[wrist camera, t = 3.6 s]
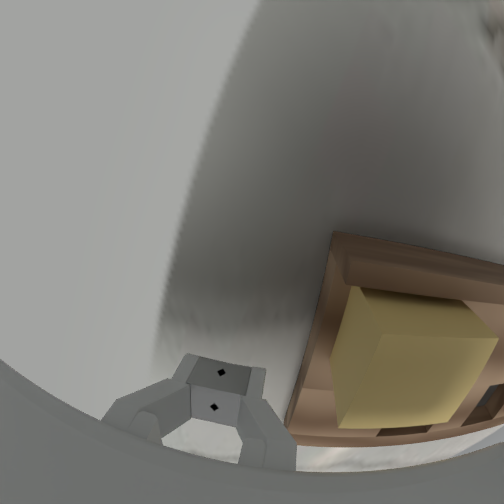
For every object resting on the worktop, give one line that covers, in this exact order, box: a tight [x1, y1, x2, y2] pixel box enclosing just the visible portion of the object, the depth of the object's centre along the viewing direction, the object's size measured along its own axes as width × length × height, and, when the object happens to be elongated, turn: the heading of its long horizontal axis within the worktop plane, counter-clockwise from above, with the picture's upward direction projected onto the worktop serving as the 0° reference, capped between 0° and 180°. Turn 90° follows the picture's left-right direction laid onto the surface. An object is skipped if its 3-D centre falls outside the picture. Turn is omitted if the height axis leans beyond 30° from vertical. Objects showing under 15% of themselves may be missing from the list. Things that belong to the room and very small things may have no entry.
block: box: [330, 286, 499, 429], centre depth 11 cm, size 5×6×5 cm
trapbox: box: [284, 231, 504, 447], centre depth 13 cm, size 16×26×6 cm, turn 83°
